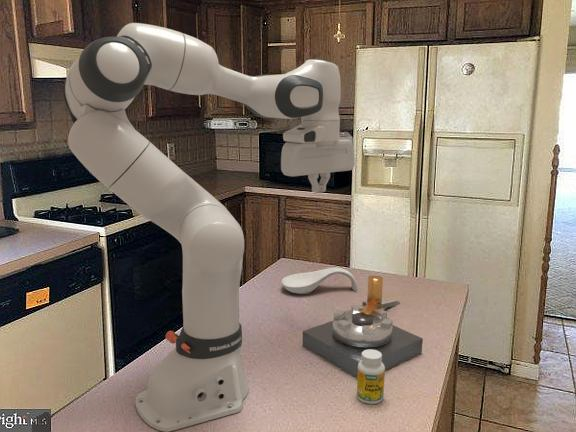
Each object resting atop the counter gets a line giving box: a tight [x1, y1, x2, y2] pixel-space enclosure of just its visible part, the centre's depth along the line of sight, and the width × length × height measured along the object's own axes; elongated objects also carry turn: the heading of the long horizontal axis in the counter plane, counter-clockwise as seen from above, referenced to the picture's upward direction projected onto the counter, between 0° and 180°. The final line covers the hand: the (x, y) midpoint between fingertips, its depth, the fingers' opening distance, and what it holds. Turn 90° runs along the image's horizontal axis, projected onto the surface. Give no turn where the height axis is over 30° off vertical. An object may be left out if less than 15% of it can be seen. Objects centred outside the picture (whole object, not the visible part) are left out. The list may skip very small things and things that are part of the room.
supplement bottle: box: [356, 349, 386, 405], centre depth 103 cm, size 5×5×10 cm
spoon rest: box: [281, 267, 358, 295], centre depth 161 cm, size 24×12×7 cm, turn 95°
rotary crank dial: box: [332, 275, 394, 347], centre depth 123 cm, size 19×14×11 cm
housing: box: [302, 320, 424, 379], centre depth 123 cm, size 20×20×4 cm
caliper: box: [361, 299, 401, 310], centre depth 144 cm, size 20×1×6 cm, turn 139°
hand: (318, 192), depth 122 cm, fingers closed
